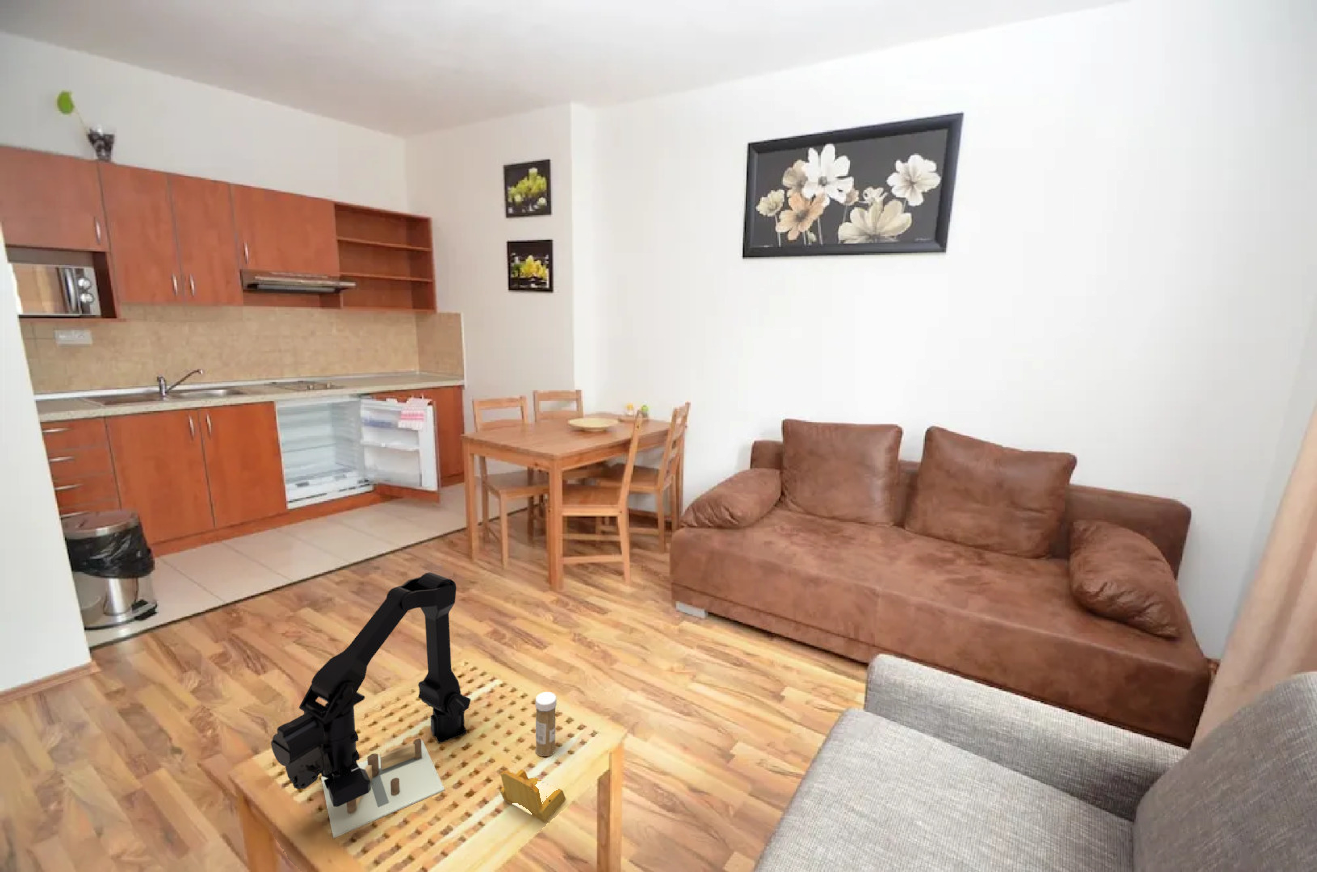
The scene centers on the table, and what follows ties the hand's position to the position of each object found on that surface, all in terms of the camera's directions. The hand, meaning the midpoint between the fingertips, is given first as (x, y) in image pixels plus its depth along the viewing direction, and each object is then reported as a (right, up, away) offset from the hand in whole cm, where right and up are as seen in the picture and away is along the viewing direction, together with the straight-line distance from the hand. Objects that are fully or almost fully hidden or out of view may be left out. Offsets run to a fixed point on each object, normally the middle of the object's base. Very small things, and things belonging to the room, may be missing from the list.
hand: (342, 801), depth 111 cm
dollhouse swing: (+36, -3, +4) cm, 37 cm away
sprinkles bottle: (+36, 0, +18) cm, 40 cm away
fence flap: (+2, 0, +2) cm, 3 cm away
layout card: (+5, -1, +6) cm, 8 cm away
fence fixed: (+7, 0, +8) cm, 11 cm away
